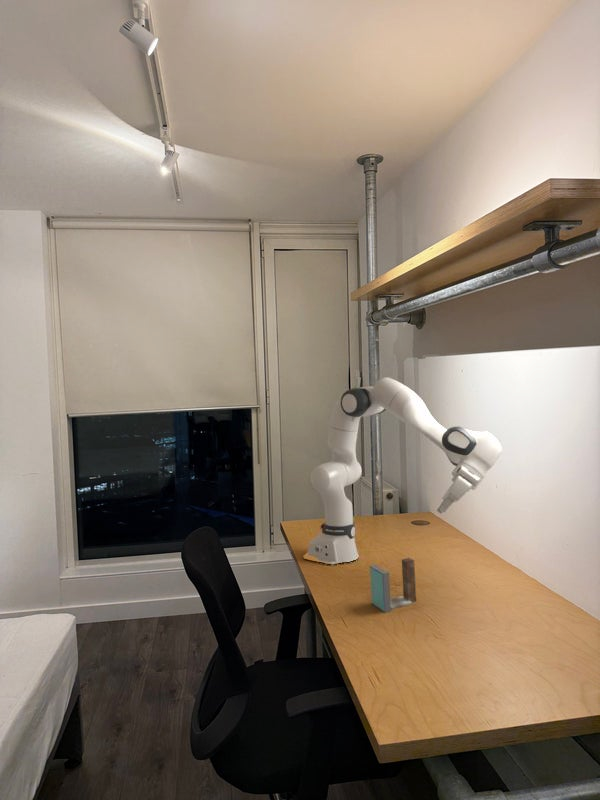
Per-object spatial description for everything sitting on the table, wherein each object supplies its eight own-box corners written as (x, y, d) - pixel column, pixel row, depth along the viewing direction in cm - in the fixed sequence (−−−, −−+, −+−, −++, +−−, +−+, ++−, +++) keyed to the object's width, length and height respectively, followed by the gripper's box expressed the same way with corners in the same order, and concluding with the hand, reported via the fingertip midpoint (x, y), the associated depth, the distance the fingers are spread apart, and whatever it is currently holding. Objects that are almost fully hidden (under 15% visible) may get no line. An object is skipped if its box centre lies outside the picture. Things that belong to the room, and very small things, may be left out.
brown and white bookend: (408, 596, 182) (406, 556, 182) (418, 602, 177) (416, 561, 176) (382, 602, 178) (380, 562, 178) (391, 609, 173) (389, 567, 173)
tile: (377, 602, 179) (375, 564, 178) (390, 611, 172) (388, 572, 171) (371, 603, 178) (369, 566, 178) (384, 612, 171) (382, 573, 170)
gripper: (453, 474, 191) (429, 507, 190) (461, 467, 172) (434, 503, 170) (469, 486, 190) (445, 519, 188) (479, 480, 170) (452, 516, 169)
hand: (440, 511), depth 179 cm, fingers open, 8 cm apart
